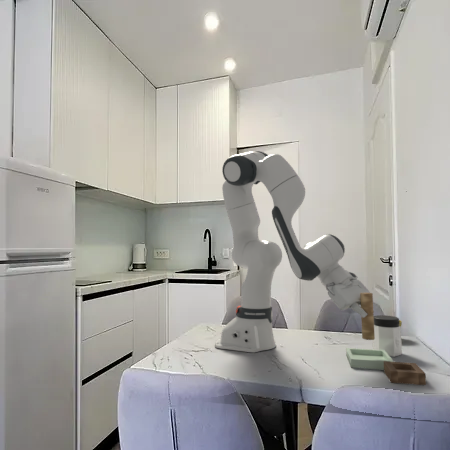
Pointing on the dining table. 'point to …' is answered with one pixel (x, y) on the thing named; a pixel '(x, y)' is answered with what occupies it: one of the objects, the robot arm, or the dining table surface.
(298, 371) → the dining table surface
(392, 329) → the jar
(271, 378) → the dining table surface
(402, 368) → the socket block
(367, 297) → the dowel
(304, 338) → the dining table surface
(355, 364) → the tray
